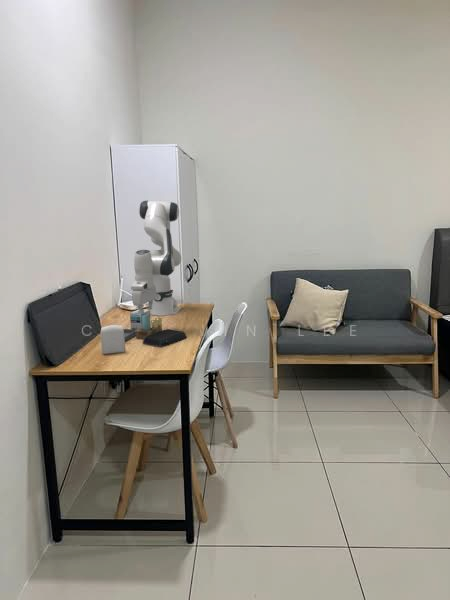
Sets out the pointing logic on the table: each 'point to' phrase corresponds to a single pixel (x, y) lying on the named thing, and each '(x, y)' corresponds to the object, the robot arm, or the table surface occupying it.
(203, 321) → the table surface
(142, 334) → the socket block
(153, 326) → the dog
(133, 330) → the tray
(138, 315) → the light bulb box
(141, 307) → the robot arm
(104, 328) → the photo printer
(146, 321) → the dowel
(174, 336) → the external hard drive
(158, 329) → the dog
